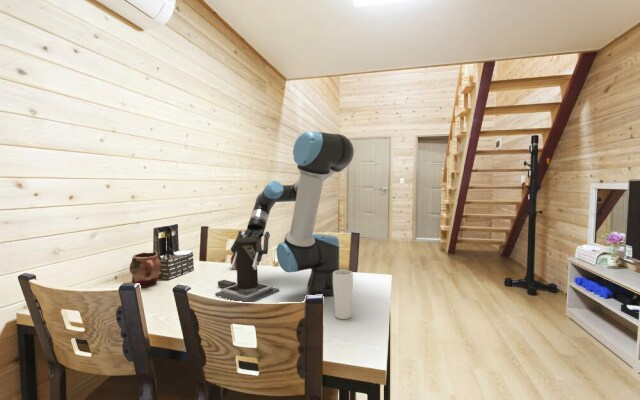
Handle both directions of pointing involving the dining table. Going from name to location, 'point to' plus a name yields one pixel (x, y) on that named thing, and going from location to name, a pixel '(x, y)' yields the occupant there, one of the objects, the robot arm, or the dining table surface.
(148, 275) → the decorative planter
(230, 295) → the base
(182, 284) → the dining table surface
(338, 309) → the drinking glass
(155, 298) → the dining table surface
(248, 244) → the container
